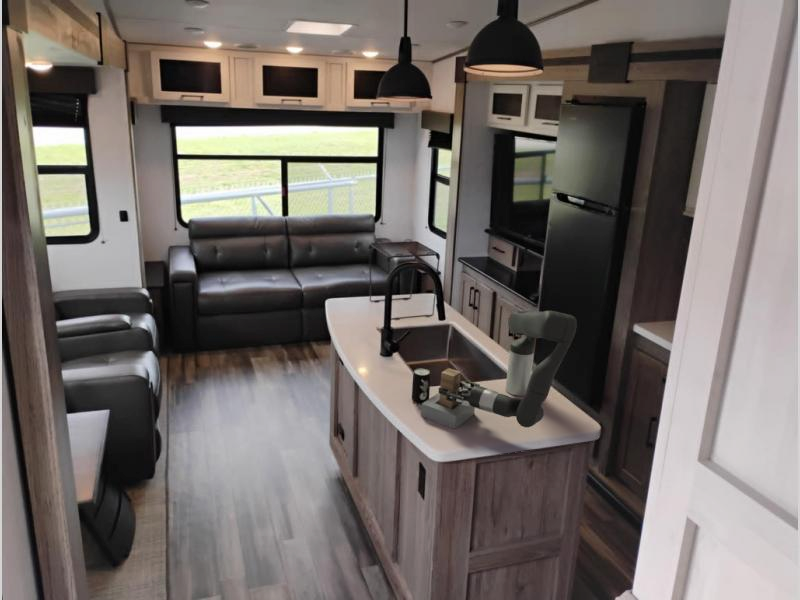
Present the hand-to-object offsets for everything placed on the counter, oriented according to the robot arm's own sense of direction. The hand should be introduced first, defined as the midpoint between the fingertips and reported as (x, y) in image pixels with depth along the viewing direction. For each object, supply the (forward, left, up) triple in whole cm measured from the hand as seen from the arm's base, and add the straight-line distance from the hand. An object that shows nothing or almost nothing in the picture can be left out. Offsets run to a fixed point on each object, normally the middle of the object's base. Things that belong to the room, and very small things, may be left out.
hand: (445, 385), depth 224 cm
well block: (0, +2, -11) cm, 11 cm away
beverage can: (-3, -12, -11) cm, 17 cm away
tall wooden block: (0, +2, -10) cm, 10 cm away
